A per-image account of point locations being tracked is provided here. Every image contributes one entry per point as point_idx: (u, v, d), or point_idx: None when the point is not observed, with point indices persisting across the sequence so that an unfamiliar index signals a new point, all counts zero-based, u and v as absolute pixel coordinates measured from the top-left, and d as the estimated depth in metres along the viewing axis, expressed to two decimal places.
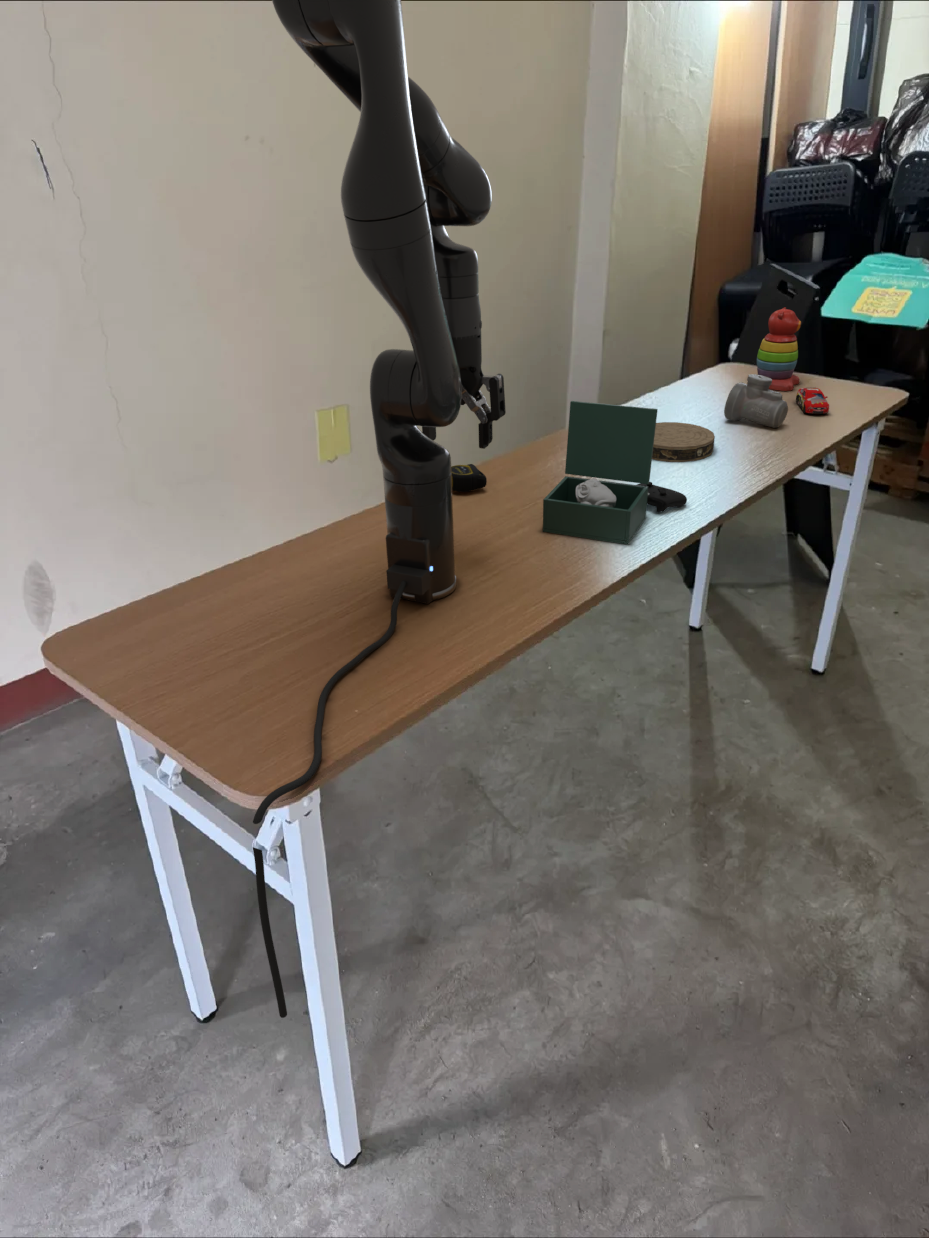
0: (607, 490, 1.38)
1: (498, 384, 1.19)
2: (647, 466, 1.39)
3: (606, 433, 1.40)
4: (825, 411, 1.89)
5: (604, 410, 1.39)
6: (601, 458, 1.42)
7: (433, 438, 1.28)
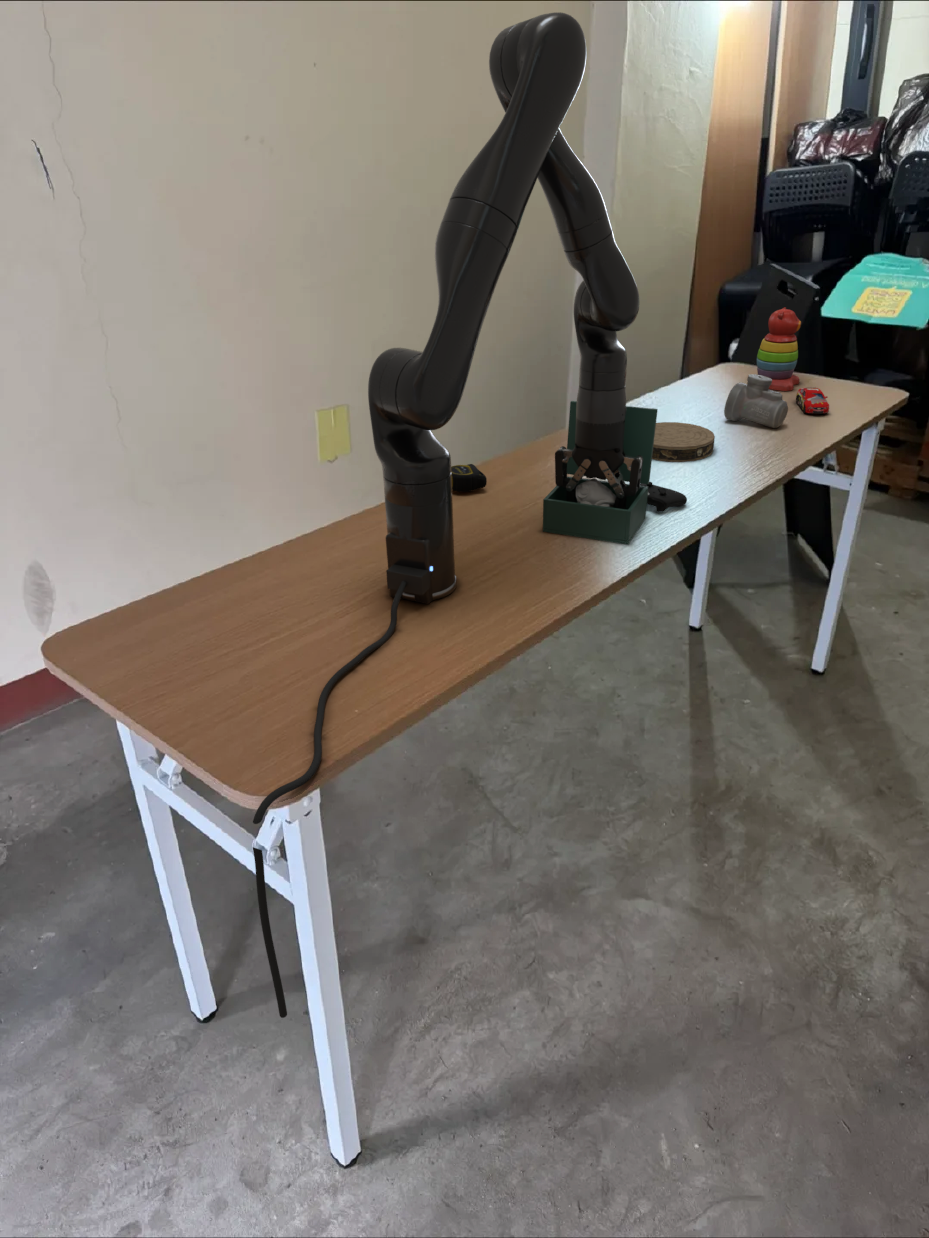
0: (607, 490, 1.38)
1: (639, 465, 1.33)
2: (647, 466, 1.39)
3: None
4: (825, 411, 1.89)
5: None
6: None
7: None
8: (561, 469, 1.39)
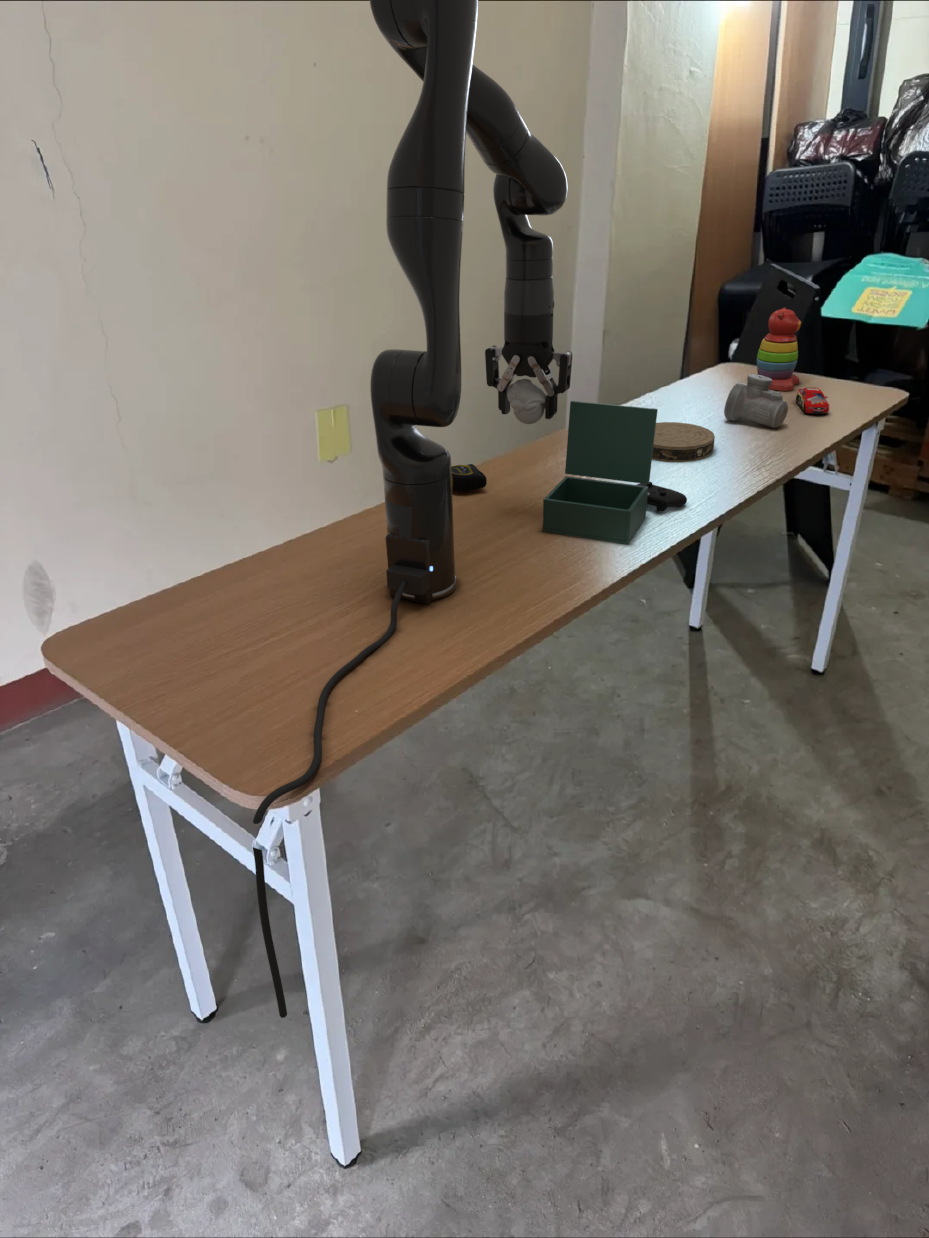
0: (538, 389, 1.37)
1: (568, 361, 1.32)
2: (647, 466, 1.39)
3: (606, 433, 1.40)
4: (825, 411, 1.89)
5: (604, 410, 1.39)
6: (601, 458, 1.42)
7: (508, 411, 1.41)
8: (492, 368, 1.37)
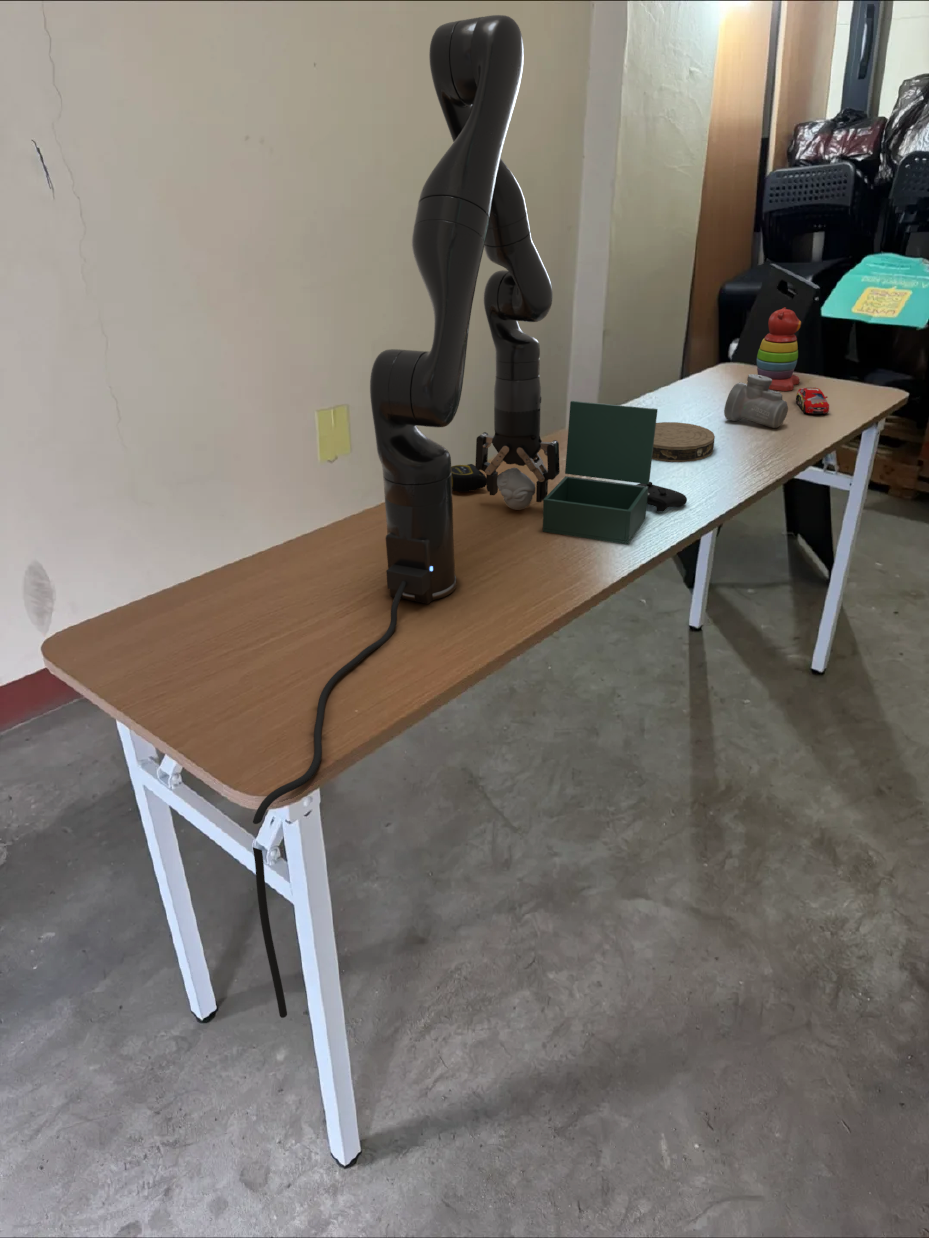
0: (526, 478, 1.45)
1: (555, 449, 1.40)
2: (647, 466, 1.39)
3: (606, 433, 1.40)
4: (825, 411, 1.89)
5: (604, 410, 1.39)
6: (601, 458, 1.42)
7: (495, 492, 1.49)
8: (481, 454, 1.45)
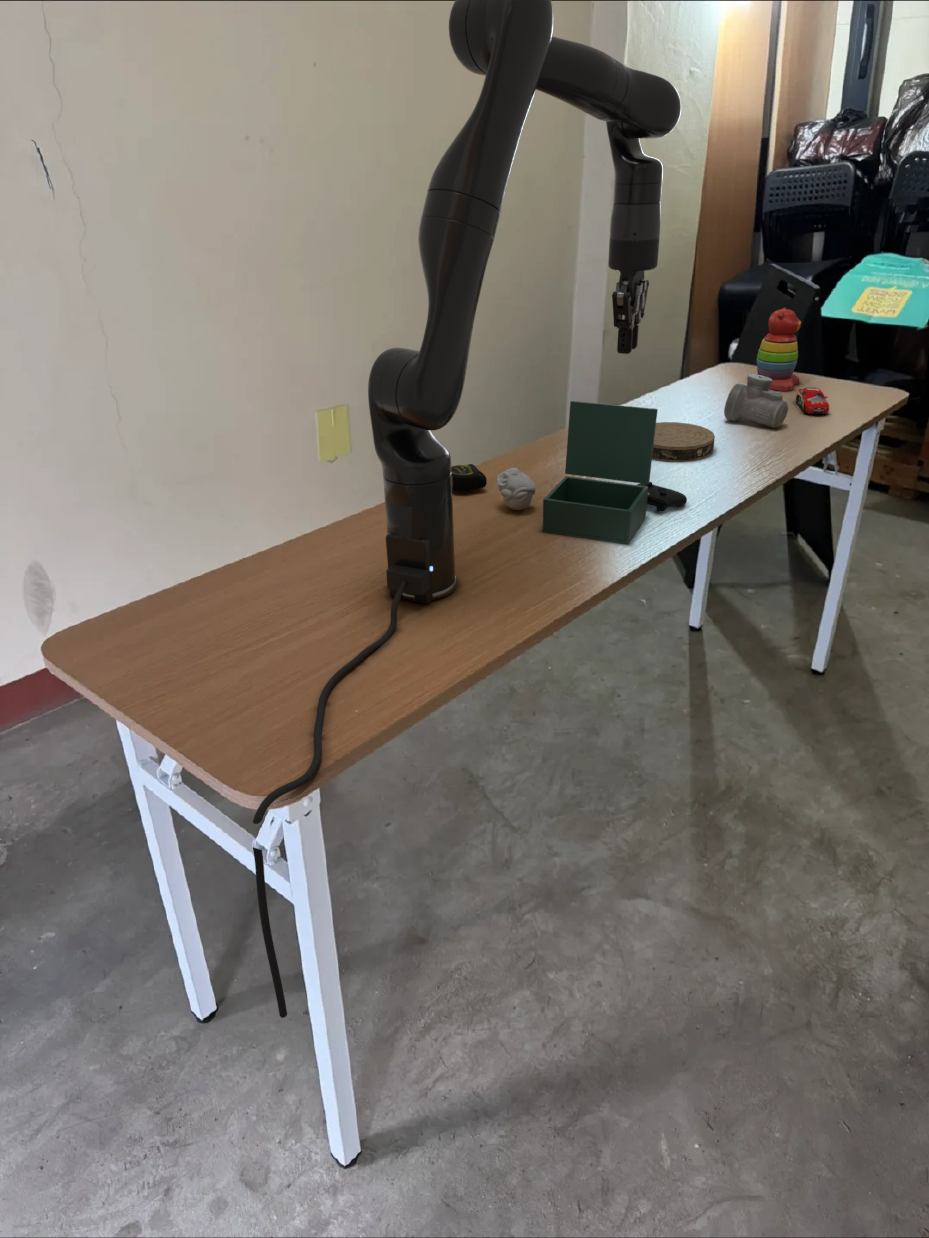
0: (526, 478, 1.45)
1: None
2: (647, 466, 1.39)
3: (606, 433, 1.40)
4: (825, 411, 1.89)
5: (604, 410, 1.39)
6: (601, 458, 1.42)
7: None
8: (630, 309, 1.33)
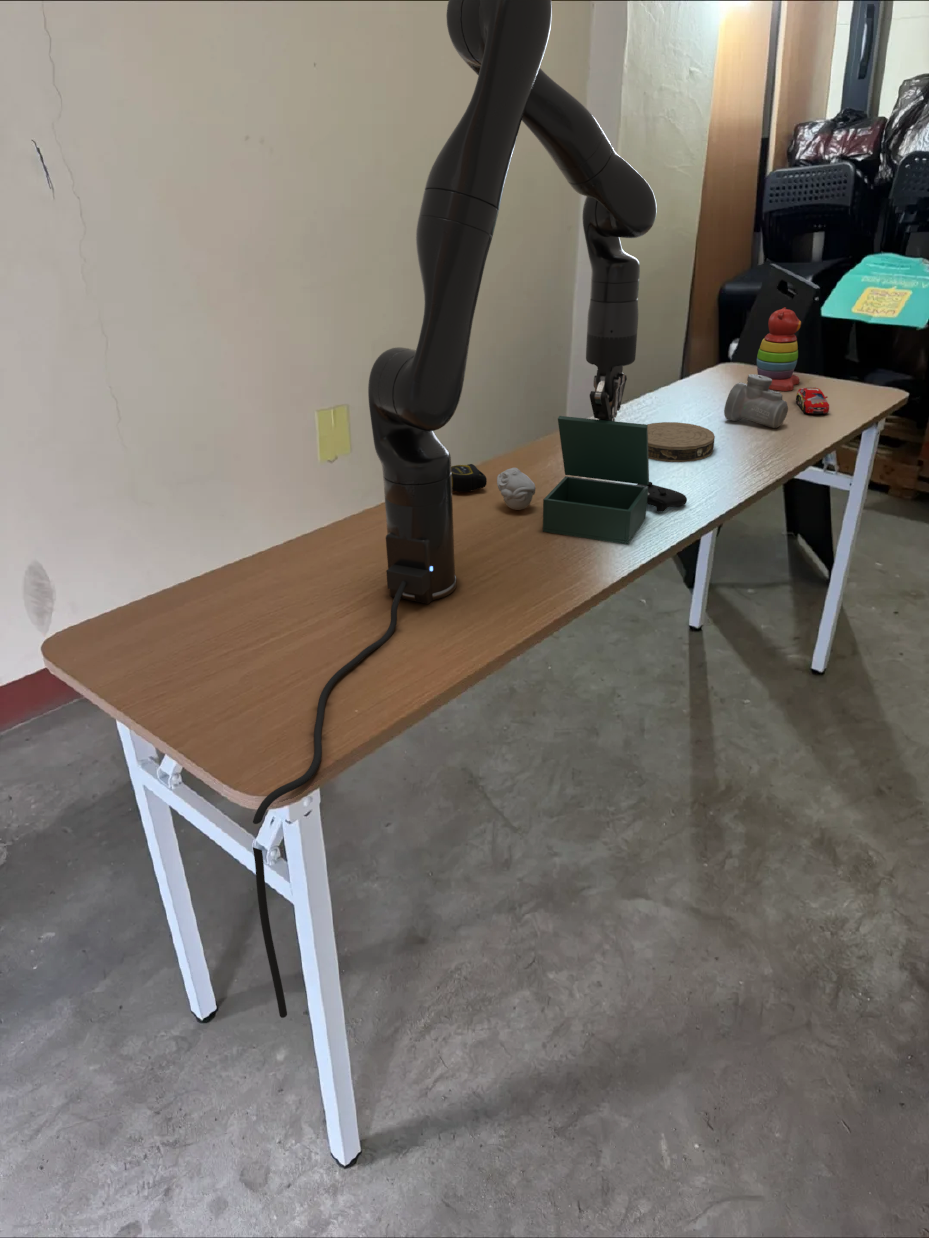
0: (526, 478, 1.45)
1: None
2: (644, 472, 1.39)
3: (599, 445, 1.38)
4: (825, 411, 1.89)
5: (593, 427, 1.35)
6: (598, 464, 1.41)
7: None
8: (608, 404, 1.32)
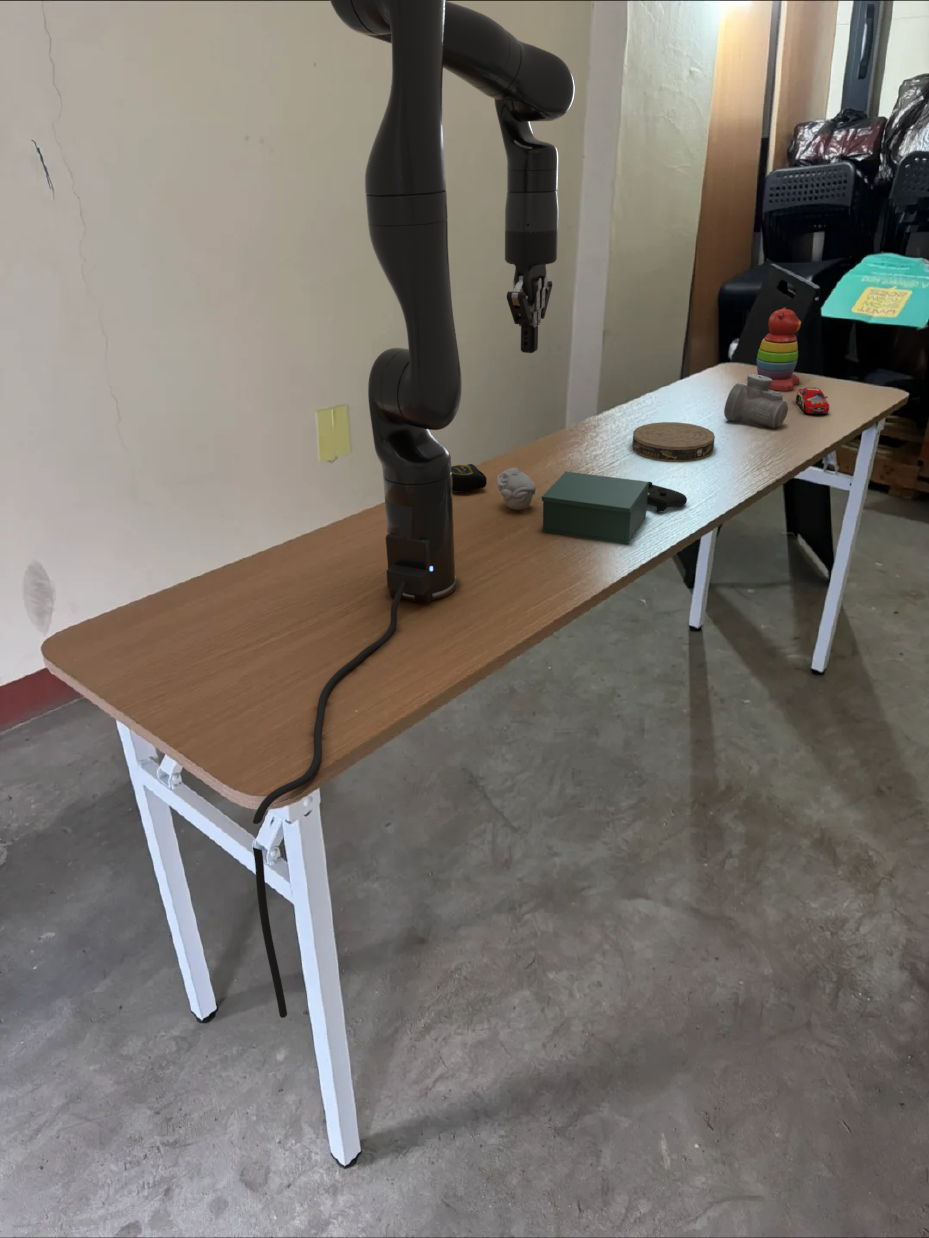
0: (526, 478, 1.45)
1: None
2: None
3: None
4: (825, 411, 1.89)
5: None
6: None
7: None
8: (528, 307, 1.24)
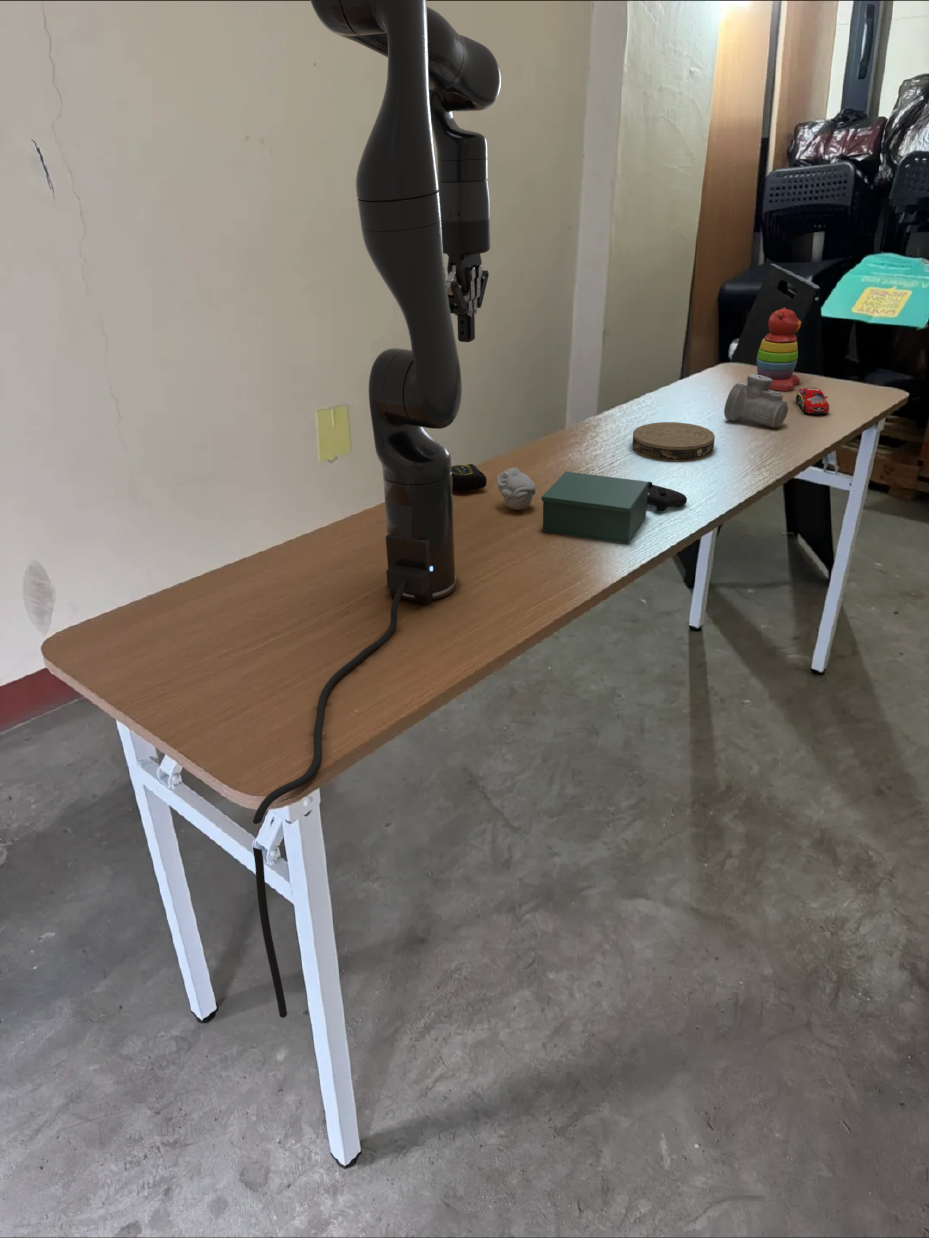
0: (526, 478, 1.45)
1: None
2: None
3: None
4: (825, 411, 1.89)
5: None
6: None
7: None
8: (462, 296, 1.25)
